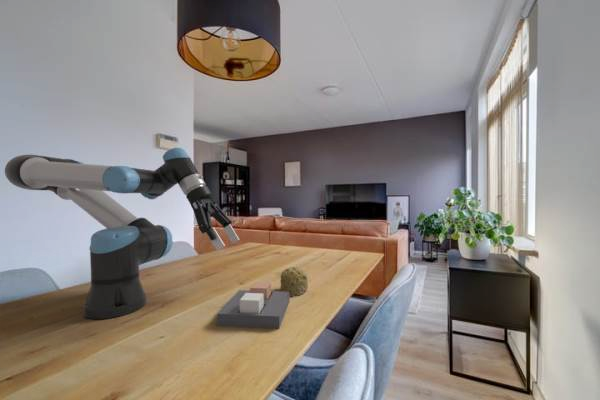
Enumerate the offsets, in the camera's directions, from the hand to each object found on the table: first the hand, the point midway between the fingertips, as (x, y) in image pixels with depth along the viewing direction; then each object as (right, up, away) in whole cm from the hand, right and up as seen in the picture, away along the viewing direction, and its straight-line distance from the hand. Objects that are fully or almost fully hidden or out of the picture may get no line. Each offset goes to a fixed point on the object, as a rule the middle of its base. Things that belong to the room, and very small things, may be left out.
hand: (229, 245), depth 87 cm
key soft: (+11, -14, -17) cm, 24 cm away
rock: (+21, -17, +5) cm, 27 cm away
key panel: (+11, -17, -12) cm, 24 cm away
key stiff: (+12, -14, -8) cm, 20 cm away
